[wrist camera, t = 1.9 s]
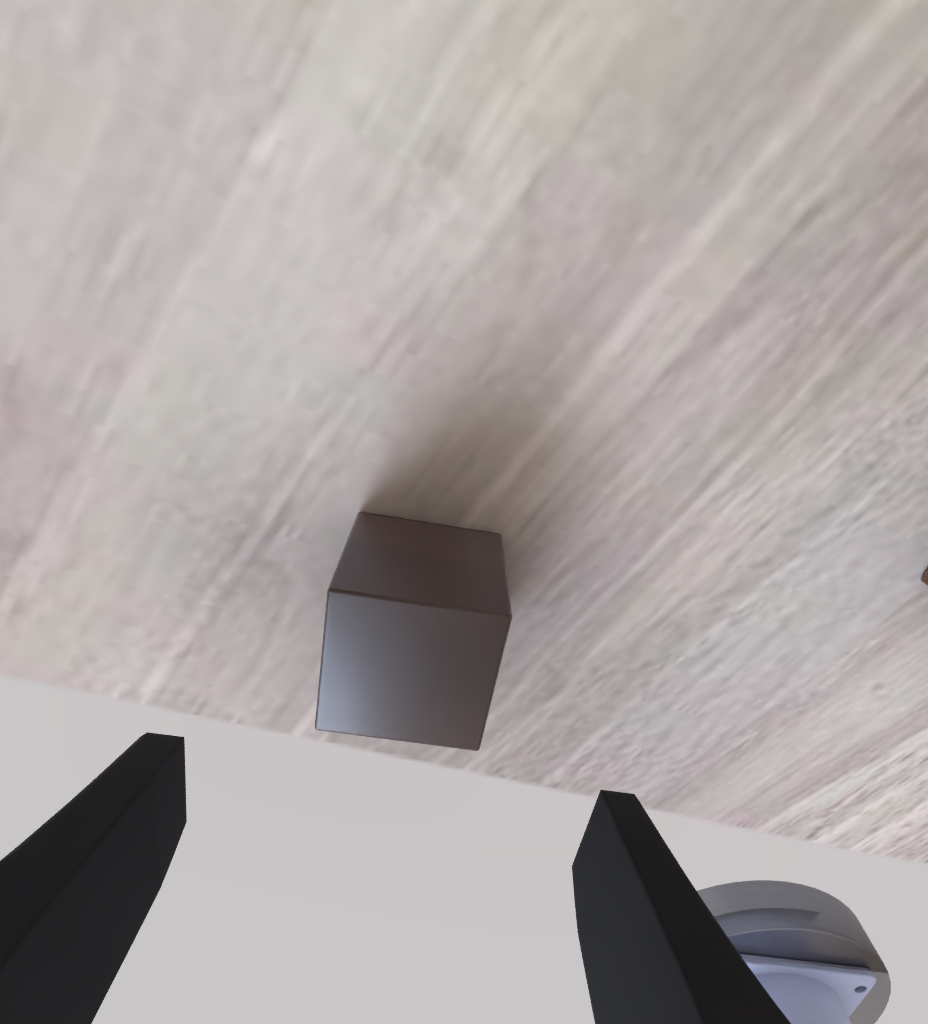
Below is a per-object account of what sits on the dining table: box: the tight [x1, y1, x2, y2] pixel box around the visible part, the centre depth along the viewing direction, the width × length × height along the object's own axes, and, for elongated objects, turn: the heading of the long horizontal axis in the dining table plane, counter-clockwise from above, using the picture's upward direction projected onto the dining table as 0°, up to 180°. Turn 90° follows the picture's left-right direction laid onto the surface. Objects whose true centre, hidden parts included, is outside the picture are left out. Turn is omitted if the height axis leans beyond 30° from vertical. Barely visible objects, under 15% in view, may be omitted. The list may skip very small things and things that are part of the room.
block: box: [315, 513, 512, 751], centre depth 15 cm, size 4×4×4 cm
